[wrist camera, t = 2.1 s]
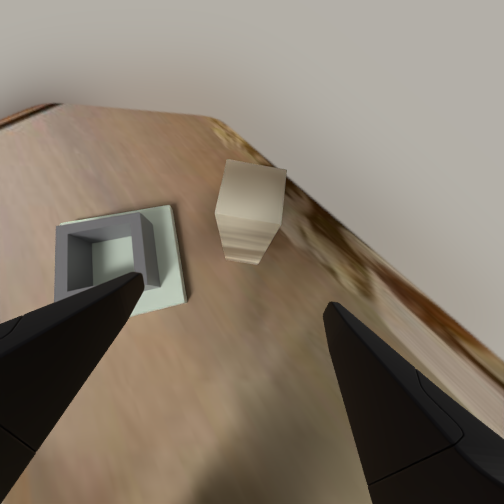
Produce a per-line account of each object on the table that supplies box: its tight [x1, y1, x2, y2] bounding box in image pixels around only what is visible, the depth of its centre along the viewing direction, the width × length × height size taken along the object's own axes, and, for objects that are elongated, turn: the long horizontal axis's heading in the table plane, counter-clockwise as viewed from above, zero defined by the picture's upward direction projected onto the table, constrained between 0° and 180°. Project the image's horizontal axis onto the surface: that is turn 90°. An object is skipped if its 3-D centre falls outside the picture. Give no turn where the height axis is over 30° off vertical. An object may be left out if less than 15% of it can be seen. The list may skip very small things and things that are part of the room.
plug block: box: [215, 159, 287, 265], centre depth 17 cm, size 4×4×12 cm
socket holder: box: [54, 205, 187, 317], centre depth 19 cm, size 12×12×4 cm
